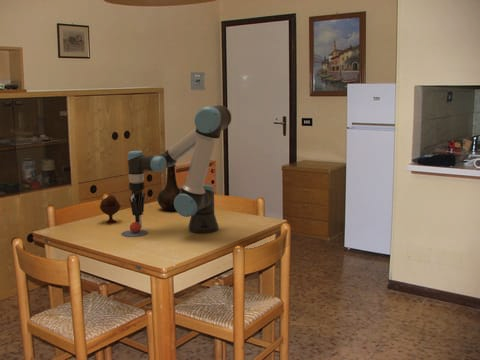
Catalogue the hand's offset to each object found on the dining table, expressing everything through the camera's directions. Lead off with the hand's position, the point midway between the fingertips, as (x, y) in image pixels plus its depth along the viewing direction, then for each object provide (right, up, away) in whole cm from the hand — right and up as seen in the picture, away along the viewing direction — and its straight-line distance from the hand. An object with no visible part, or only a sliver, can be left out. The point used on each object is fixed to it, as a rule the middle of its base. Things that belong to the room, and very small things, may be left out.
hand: (138, 227), depth 288 cm
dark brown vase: (+12, +7, +47) cm, 49 cm away
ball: (-1, 0, -3) cm, 4 cm away
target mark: (-1, -3, -4) cm, 5 cm away
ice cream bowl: (-18, +1, +19) cm, 27 cm away
